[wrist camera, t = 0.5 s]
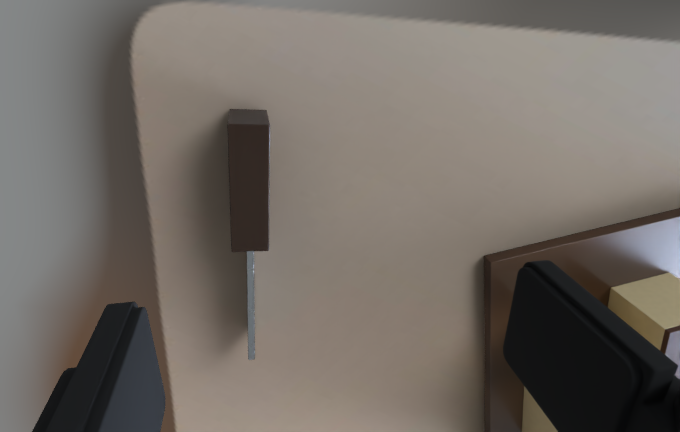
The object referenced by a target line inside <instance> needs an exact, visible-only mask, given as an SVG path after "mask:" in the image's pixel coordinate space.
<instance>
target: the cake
mask: <svg viewBox="0 0 680 432" xmlns="http://www.w3.org/2000/svg"><path fill="white" fill-rule="evenodd" d="M608 308H609V309H610V310H611V311H612V312H614V313H615V314H616V315H617V316H619V317H620V318H621V319H622V320H623V321H625V322H626V323H627V324H628V325H629V326H631V327H632V328H633V329H634V330H636V331H637V332H638V333H639V334H640V335H642V336H643V337H644V338H645V339H646V340H648V341H649V342H650V343H651V344H653V345H654V346H655V347H656V348H657V349H659V350H660V351H661V352H662V353H663V354H665V355H666V356H667V357H668V358H670V359H671V360H672V361H673V362H674V363H676V364H677V365H678V368H677V371H676V373H675V376H676V377H677V378H679V379H680V279H679V278H677V277H676V276H674V275H672V274H671V273H665V274H661V275H658V276H654V277H650V278H646V279H642V280H638V281H634V282H631V283H627V284H623V285H619V286H615V287H611V289H610V296H609V302H608ZM522 432H558V431H557V430H556V428H555V427H554V426H553V424H552V423H551V422H550V420H549V419H548V418H547V416H546V415H545V413H544V412H543V411H542V409H541V408H540V407H539V405H538V404H537V403H536V401H535V400H534V399H533V397H532V396H531V394H530V393H529V392H528V390H527V389H526V388H525V386H524V399H523V419H522Z"/></svg>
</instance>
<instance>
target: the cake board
mask: <svg viewBox="0 0 680 432" xmlns="http://www.w3.org/2000/svg"><path fill="white" fill-rule="evenodd" d="M542 260H550V261H551V262H553V263H554V264H555V265H557V266H558V267H559V268H560V269H561V270H563V271H564V272H565V273H566V274H568V275H569V276H570V277H571V278H572V279H574V280H575V281H576V282H577V283H578V284H580V285H581V286H582V287H583V288H585V289H586V290H587V291H588V292H589V293H591V294H592V295H593V296H594V297H595V298H597V299H598V300H599V301H600V302H602V303H603V304H604V305H605V306H606V307H608V302H609V296H610V289H611V287H615V286H619V285H623V284H627V283H631V282H634V281H638V280H642V279H646V278H650V277H654V276H658V275H661V274H665V273H671V274H672V275H674V276H676V277H677V278H679V279H680V208H679V209H675V210H671V211H667V212H663V213H658V214H654V215H650V216H646V217H642V218H638V219H634V220H630V221H626V222H621V223H617V224H613V225H609V226H605V227H601V228H597V229H593V230H589V231H584V232H580V233H576V234H572V235H568V236H564V237H560V238H556V239H552V240H547V241H543V242H539V243H535V244H531V245H527V246H523V247H519V248H515V249H510V250H506V251H502V252H498V253H494V254H490V255H486V256H484V314H485V432H522V419H523V399H524V385H523V384H522V382H521V381H520V380H519V378H518V377H517V375H516V374H515V373H514V371H513V370H512V369H511V367H510V366H509V365H508V363H507V362H506V360H505V358H504V354H503V345H504V340H505V335H506V330H507V325H508V320H509V314H510V309H511V304H512V299H513V294H514V289H515V284H516V279H517V274H518V271H519V270H520V269H521V268H523V266H524V264H525V263H527V262H532V261H542Z"/></svg>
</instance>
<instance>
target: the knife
mask: <svg viewBox="0 0 680 432" xmlns="http://www.w3.org/2000/svg"><path fill="white" fill-rule="evenodd" d="M228 153H229V185H230V217H231V249H232V252H244V251H247V307H248V359H249V360H253V359H255V320H254V251H269V177H270V124H269V119H268V115H267V111H266V110H247V109H230V111H229V118H228Z"/></svg>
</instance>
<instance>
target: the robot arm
mask: <svg viewBox="0 0 680 432" xmlns="http://www.w3.org/2000/svg"><path fill="white" fill-rule="evenodd" d="M503 354H504V358H505V360H506V362H507V363H508V365H509V366H510V367H511V369H512V370H513V371H514V373H515V374H516V375H517V377H518V378H519V380H520V381H521V382H522V384H523V385H524V386H525V388H526V389H527V390H528V392H529V393H530V394H531V396H532V397H533V399H534V400H535V401H536V403H537V404H538V405H539V407H540V408H541V409H542V411H543V412H544V413H545V415H546V416H547V418H548V419H549V420H550V422H551V423H552V424H553V426H554V427H555V428H556V430H557V431H558V432H680V379H679V378H677V377H676V376H675V373H676V371H677V368H678V365H677V364H676V363H674V362H673V361H672V360H671V359H670V358H668V357H667V356H666V355H665V354H663V353H662V352H661V351H660V350H659V349H657V348H656V347H655V346H654V345H653V344H651V343H650V342H649V341H648V340H646V339H645V338H644V337H643V336H642V335H640V334H639V333H638V332H637V331H636V330H634V329H633V328H632V327H631V326H629V325H628V324H627V323H626V322H625V321H623V320H622V319H621V318H620V317H619V316H617V315H616V314H615V313H614V312H612V311H611V310H610V309H609V308H608V307H606V306H605V305H604V304H603V303H602V302H600V301H599V300H598V299H597V298H595V297H594V296H593V295H592V294H591V293H589V292H588V291H587V290H586V289H585V288H583V287H582V286H581V285H580V284H578V283H577V282H576V281H575V280H574V279H572V278H571V277H570V276H569V275H568V274H566V273H565V272H564V271H563V270H561V269H560V268H559V267H558V266H557V265H555V264H554V263H553V262H551V261H550V260H542V261H532V262H527V263H525V264H524V266H523V268H521V269H520V270H519V271H518V274H517V279H516V284H515V289H514V294H513V299H512V304H511V309H510V314H509V320H508V325H507V330H506V335H505V340H504V345H503ZM164 411H165V393H164V388H163V383H162V379H161V374H160V370H159V365H158V360H157V356H156V351H155V347H154V342H153V338H152V333H151V328H150V324H149V319H148V314H147V311H146V308H145V307H139V308H138V306H137V304H136V303H135V302H126V303H116V304H108V305H107V306H106V308H105V309H104V311H103V314H102V316H101V318H100V320H99V322H98V324H97V326H96V328H95V330H94V332H93V334H92V336H91V339H90V340H89V343H88V345H87V347H86V349H85V351H84V353H83V355H82V357H81V359H80V361H79V363H78V365H77V367H76V368H68V369H67V370H66V371H64V372H63V374H62V375H61V377H60V379H59V381H58V383H57V385H56V386H55V388H54V391H53V392H52V394H51V396H50V398H49V400H48V402H47V404H46V406H45V408H44V410H43V412H42V414H41V416H40V418H39V420H38V422H37V423H36V425H35V427H34V429H33V431H32V432H160V430H161V425H162V420H163V416H164Z"/></svg>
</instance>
